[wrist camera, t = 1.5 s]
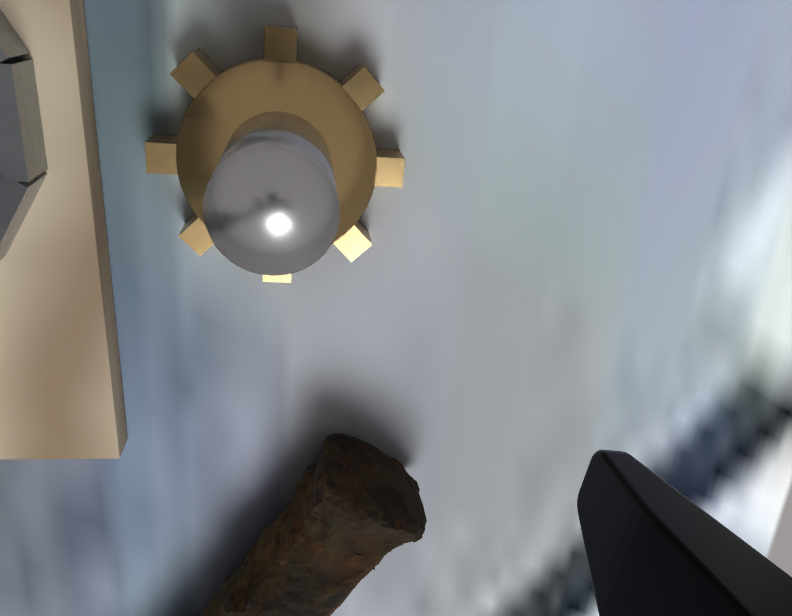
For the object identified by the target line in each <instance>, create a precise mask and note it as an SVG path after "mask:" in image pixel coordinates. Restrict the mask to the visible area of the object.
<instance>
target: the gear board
mask: <svg viewBox="0 0 792 616" xmlns="http://www.w3.org/2000/svg"><path fill="white" fill-rule="evenodd" d="M127 438H128V437H127V427H126V417H125V408H124V398H123V388H122V378H121V368H120V358H119V348H118V339H117V329H116V319H115V309H114V299H113V289H112V280H111V270H110V260H109V250H108V240H107V230H106V221H105V211H104V201H103V191H102V181H101V171H100V162H99V152H98V142H97V132H96V122H95V112H94V103H93V93H92V83H91V73H90V63H89V53H88V44H87V34H86V24H85V14H84V4H83V0H0V459H110V458H120V456H121V454H122V451H123V449H124V446H125V444H126V441H127Z"/></svg>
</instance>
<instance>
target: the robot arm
mask: <svg viewBox="0 0 792 616" xmlns="http://www.w3.org/2000/svg"><path fill="white" fill-rule="evenodd" d="M577 508H578V515H579V520H580V525H581V530H582V534H583V539H584V544H585V549H586V554H587V559H588V564H589V569H590V574H591V579H592V584H593V589H594V594H595V598H596V603H597V607H598V611H599V616H792V577H791V576H789V575H788V574H787V573H785V572H784V571H783V570H781V569H780V568H779V567H777V566H776V565H775V564H773V563H772V562H771V561H770V560H768V559H767V558H766V557H764V556H763V555H762V554H760V553H759V552H758V551H756V550H755V549H754V548H752V547H751V546H750V545H748V544H747V543H746V542H744V541H743V540H742V539H741V538H739V537H738V536H737V535H735V534H734V533H733V532H731V531H730V530H729V529H727V528H726V527H725V526H723V525H722V524H721V523H719V522H718V521H717V520H715V519H714V518H713V517H712V516H710V515H709V514H708V513H706V512H705V511H704V510H702V509H701V508H700V507H698V506H697V505H696V504H694V503H693V502H692V501H690V500H689V499H688V498H686V497H685V496H684V495H682V494H681V493H680V492H679V491H677V490H676V489H675V488H673V487H672V486H671V485H669V484H668V483H667V482H665V481H664V480H663V479H661V478H660V477H659V476H657V475H656V474H655V473H653V472H652V471H651V470H650V469H648V468H647V467H646V466H644V465H643V464H642V463H640V462H639V461H638V460H636V459H635V458H634V457H632V456H631V455H630V454H628V453H626V452H622V451H611V450H599V451H597V452H595V454H594V455H593V456H592V458H591V461H590V464H589V466H588V469H587V472H586V475H585V477H584V480H583V483H582V486H581V488H580V491H579V494H578V501H577Z"/></svg>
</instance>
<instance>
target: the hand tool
mask: <svg viewBox="0 0 792 616" xmlns="http://www.w3.org/2000/svg"><path fill="white" fill-rule="evenodd" d="M419 490H420V489H419V487H418V484H417V481H415V480H414V479H413V478H412V477H411V476H410V475H409V474H408V473H407V472H406V470H405V468H404V467H403V465H402V464H401V463H400V462H398V460H396V459H393V458H391V457H389V456H387V455H385V454H383V453H382V452H381V451H380V450H379V449H377V448H376V447H374V446H372V445H370V444H368V443H366V442H363V441H361V440H359V439H356V438H354V437H349V436H346V435H343V434H332V435H329V436H328V437H327V438H326V440H325V441H324V443H323V447H322V457H320V458H319V459H318V461H317V464H315V465H312V466H309V467H308V468H307V470H306V471H305V473H304V477H303V478H302V479H301V480H300V481H299V482H298V483H297V484H296V495H295V496H294V498H293V499H292V500H291V501H290V503H289V504H288V506H287V507H286V508H285V510H284V511H283V512H282V514H281V515H280V516H279V517H278V518H277V519H276V520H275V521H274V522H273V523H272V524H271V525H270V526H269V527H268V528H267V529H266V530H264V532H263V533H262V535H261V537H260V538H259V539H258V540H257V541H256V542H255V543H254V544H253V546H252V548H251V549H250V551H249V553H248V554H247V556H246V558H245V559H244V561H243V562H242V564H241V565H240V567H239V568H238V569H237V570H236V571H235V572H234V573H233V574H232V575H231V576H229V577H227V578H225V580H224V583H223V586H222V587H221V588H220V589H219V591H218V592H217V593H216V595H215V596H214V598H213V599H212V600H211V602H210V603H209V604H208V605H207V606H206V607H205V608H204V610H203V611H202V613H201V614H200V616H330V615H331V614H332V613H333V612H334V611H335V610H336V609H337V608H338V607H339V606H340V605H341V604H342V603H343V601H344V600H345V599H346V598H347V596H348V595H349V594H350V593H351V591H352V590H353V589H354V588H355V586H356V585H357V584H358V583H359V582H360V581H361V580H362V579H363V578H364V577H365V576H366V575H367V574H368V573H369V572H370V571H371V570H372V569H374V570H375V568H374V567H375V566H376V565H378V564H379V562H380V561H381V560H382V558H383V557H384V556H385V555H386V554H387V553H388V552H391V550H392V549H394V548H396V547H398V546H400V545H403V544H404V543H408V542H412V541H413V542H416V541H418V540H420V539H421V538H422V535H423V533H424V531H425V524H426V522H427V520H426V516H425V512H424V508H423V504H422V501H421V498H420V495H419Z"/></svg>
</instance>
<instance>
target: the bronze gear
mask: <svg viewBox="0 0 792 616" xmlns="http://www.w3.org/2000/svg"><path fill="white" fill-rule="evenodd" d="M170 74H171V75H172V76H173V77H174V78H175V79H176V81H177V82H178V83H179V84H180V85H181V86H182V87H183V88H184V89H185V90H186V91H187V92H188V93H189V94H190V95H191V96H192V97H193V98H194V100H193V101H192V103H191V104H190V106H189V107H188V109H187V111H186V113H185V115H184V117H183V119H182V122H181V126H180V129H179V132H178V136H173V135H157V134H153V135H152V136H151V137H150V138H149V139H148V140H147V141H145V152H146V167H147V173H160V174H177V175H178V176H179V180H180V184H181V187H182V190H183V192H184V195H185V197H186V199H187V201H188V203H189V204H190V206H191V208H192V210H193V211H194V212H195V215H194V216H193V217H192V218H191V219H190V220H189V221H188V222H186V223H185V225H184V227H183V228H182V230H181V232H180V234H179V237H180V238H181V239H182V240H183V241H184V242H185V243H186V244H188V245H189V246H190V247H191V248H192V249H193V250H194V251H195V252H196V253H197V254H199V255H200V256H201V255H202V254H203V253H204V252H206V251H207V250H208V249H209V248H210V247H211V246H212V245H213V244H215V246H216V247H217V249H218V250H219V251H220V252H221V253H222V254H223V255H224V256H225V257H226V258H227V259H229V260H230V261H231V262H232V263H234V264H236V265H237V266H239V267H241V268H243V269H245V270H247V271H250V272H253V273H257V274H262V275H263V282H288V283H291V273H295V272H298V271H300V270H303V269H305V268H307V267H309V266H310V265H312V264H313V263H315V262H316V261H317V260H319V259H320V258H321V257H322V256H323V255H324V254H325V253H326V251H327V250H328V249H329V247H330V246H331V244H333V243H334V244H335V245H336V246H337V247H338V249H339V250H340V251H341V252H342V253H343V254H344V255H345V256H346V257H347V258H348V259H349V260H350V261H351V262H352V261H353V260H354V259H356V258H357V257H358V256H359V255H360V254H362V253H363V252H364V251H365V250H366V249H367V248H369V247H370V246H371V245H372V242H371V239H370V235H369V232H368V231H367V230H366V229H365V228H364V227H363V226H362V225H361V224H360V223H359V221H358V220H359V219H360V217H361V216H362V214H363V212H364V211H365V209H366V207H367V205H368V203H369V201H370V198H371V196H372V193H373V189H374V186H388V187H402V186H403V175H404V165H405V158H404V156H403V155H402V153H401V152H400V151H399V150H384V149H376V146H375V142H374V138H373V134H372V132H371V129H370V126H369V124H368V121H367V119H366V118H365V116H364V114H363V112H362V111H363V110H364V109H365V108H366V107H367V106H369V105H370V104H371V103H372V102H373V101H374V100H375V99H376V98H377V97H379V96H380V95H381V94H382V93H383V92H384V90H383V88H382V87H381V86H380V85H379V83H378V82H377V81H376V80H375V79H374V77H373V76H372V75H371V74H370V72H369V71H368V70H367V69H366V67H365V66H364V65H363V64H362V63H360V64H359V65H358V66H357V67H356V68H355V69H354V70H353V71H351V72H350V73H349V74H348V75H347V76H346V77H345V78H344V79H343V80H342V81H341V82H339V81H337V80H336V79H335V78H334V77H333V76H331V75H330V74H328V73H327V72H325V71H323V70H322V69H320V68H318V67H316V66H313V65H311V64H309V63H306V62H303V61H300V60H297V28H295V27H284V26H274V25H266V26H265V27H264V57H262V58H255V59H251V60H247V61H243V62H241V63H238V64H236V65H234V66H231V67H229V68H228V69H226V70H225V71H223V72H220V71H219V70H218V69H217V68H216V67H215V65H214V64H213V63H212V62H211V61H210V60H209V59H208V58H207V57H206V56H205V55H204V54H203V52H202V51H201V50H200V49H199V48H198V49H197V50H195V51H193V52H192V53H191V54H190V55H189V56H188V57H187V58H186V59H185V60H184V61H183V62H182V63H180V64H179V65H178V66H177V67H176V68H175V69H174V70H173V71H172V72H171V73H170Z"/></svg>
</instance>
